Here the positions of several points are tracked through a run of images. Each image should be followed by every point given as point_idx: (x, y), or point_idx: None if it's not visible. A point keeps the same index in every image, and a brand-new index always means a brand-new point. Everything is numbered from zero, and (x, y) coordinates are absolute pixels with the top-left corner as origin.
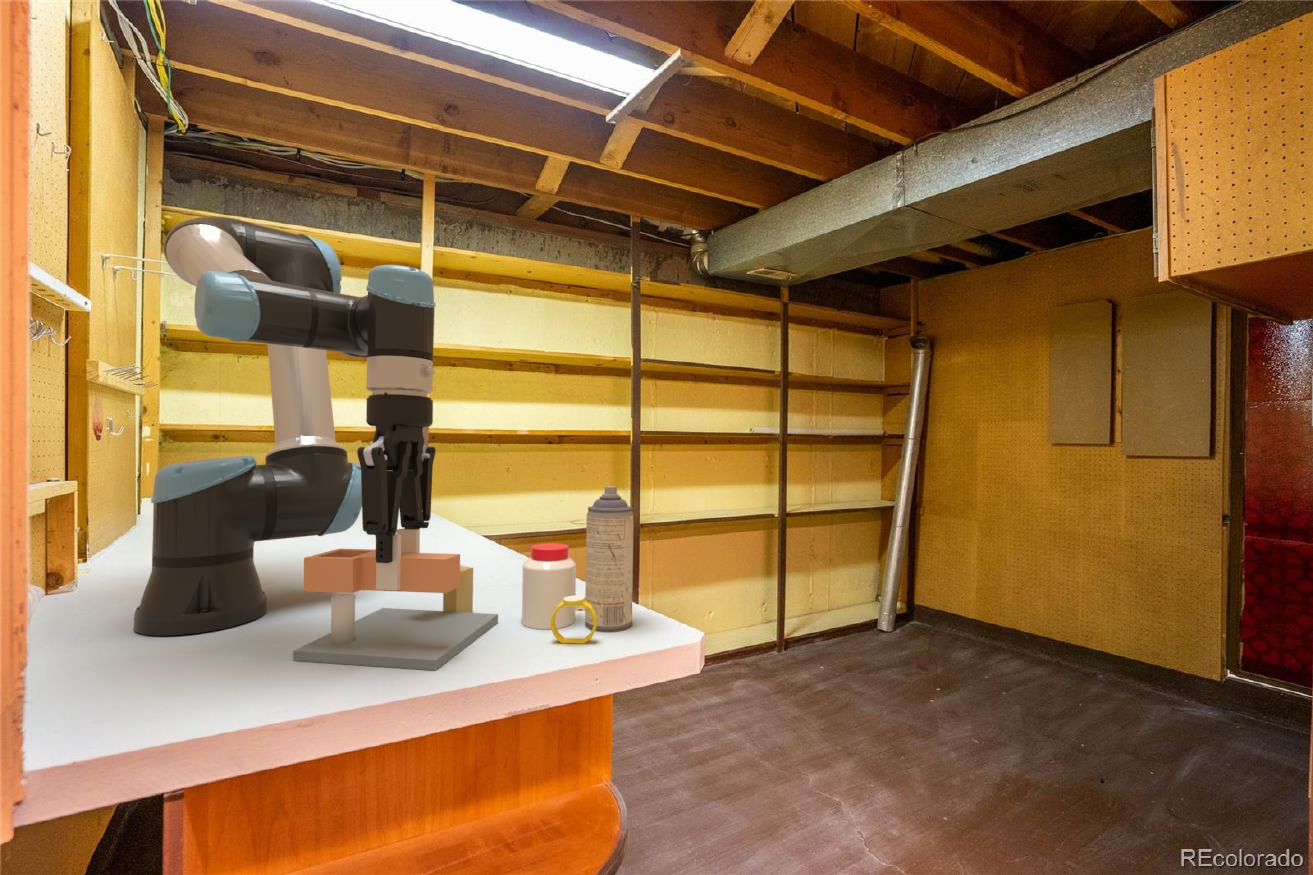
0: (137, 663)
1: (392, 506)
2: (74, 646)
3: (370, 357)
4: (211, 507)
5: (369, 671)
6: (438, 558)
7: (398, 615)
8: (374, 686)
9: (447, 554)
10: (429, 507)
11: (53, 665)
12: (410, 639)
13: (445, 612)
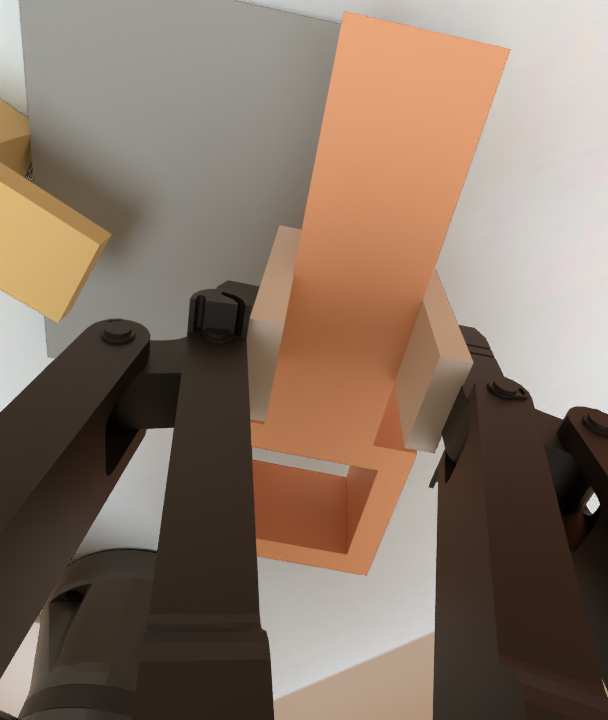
0: (356, 588)
1: (552, 496)
2: (283, 671)
3: None
4: None
5: (448, 234)
6: (471, 109)
7: (103, 296)
8: (546, 187)
9: (352, 93)
10: (76, 363)
11: (355, 654)
12: (301, 194)
13: (44, 169)
